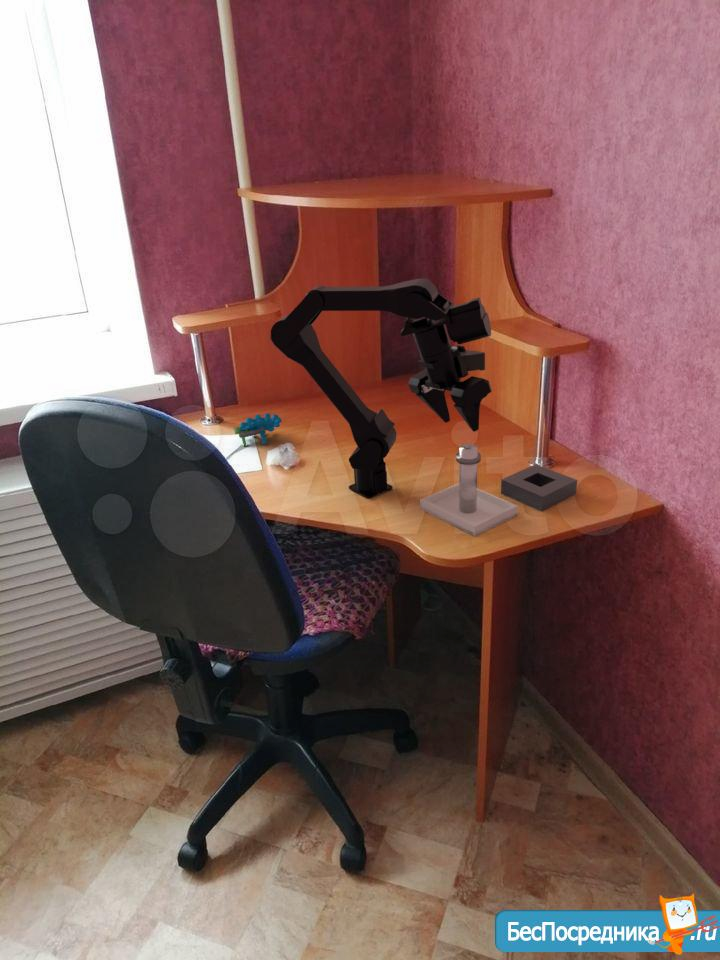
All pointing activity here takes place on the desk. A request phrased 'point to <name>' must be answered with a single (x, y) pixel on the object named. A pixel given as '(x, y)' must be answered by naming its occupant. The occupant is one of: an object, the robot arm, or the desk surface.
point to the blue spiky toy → (258, 426)
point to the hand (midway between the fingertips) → (461, 425)
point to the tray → (483, 519)
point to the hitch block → (538, 487)
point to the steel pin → (468, 477)
